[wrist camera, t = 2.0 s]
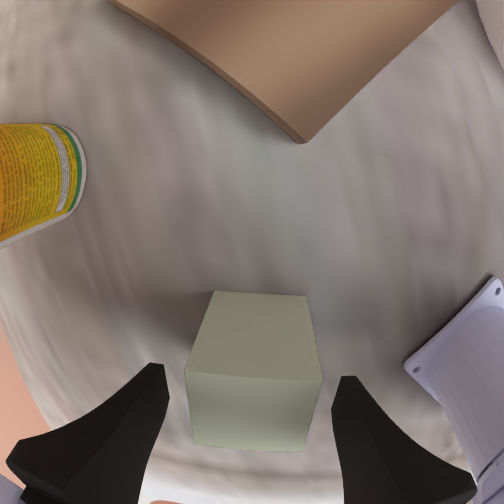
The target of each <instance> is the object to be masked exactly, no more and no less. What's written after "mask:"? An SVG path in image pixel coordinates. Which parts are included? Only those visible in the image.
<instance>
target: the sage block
mask: <svg viewBox="0 0 504 504" xmlns="http://www.w3.org/2000/svg"><path fill="white" fill-rule="evenodd" d="M184 375H185V383H186V390H187V397H188V404H189V410H190V417H191V423H192V429H193V435H194V441H195V444H199V445H206V446H213V447H222V448H231V449H242V450H256V451H280V452H302V450H303V447H304V444H305V441H306V437H307V434H308V431H309V428H310V424H311V421H312V418H313V414H314V411H315V407H316V403H317V400H318V396H319V392H320V389H321V385H322V381H323V379H322V373H321V368H320V362H319V357H318V352H317V347H316V341H315V336H314V331H313V326H312V321H311V317H310V312H309V307H308V302H307V297H306V296H297V295H278V294H261V293H245V292H231V291H217V290H214V293H213V295H212V298H211V301H210V303H209V306H208V308H207V311H206V313H205V316H204V319H203V321H202V324H201V327H200V329H199V332H198V334H197V337H196V340H195V342H194V345H193V348H192V350H191V353H190V356H189V358H188V361H187V364H186V366H185V369H184Z"/></svg>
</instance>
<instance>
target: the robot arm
mask: <svg viewBox="0 0 504 504" xmlns="http://www.w3.org/2000/svg"><path fill="white" fill-rule="evenodd" d="M496 289H497V290H496ZM404 368H405V370H406V371H407V372H408V373H409V374H410V375H411V376H412V377H413V378H414V379H415V380H416V381H417V382H418V383H419V384H420V385H421V386H422V387H423V388H424V389H425V390H426V391H427V392H428V393H429V394H430V395H431V396H432V397H433V398H434V399H435V400H437V401H438V402H439V403H440V404H441V406H442V408H443V410H444V412H445V414H446V416H447V418H448V420H449V422H450V424H451V426H452V428H453V430H454V432H455V434H456V436H457V438H458V441H459V443H460V445H461V447H462V449H463V451H464V454H465V456H466V458H467V460H468V463H469V465H470V467H471V470H472V472H473V474H474V477H475V479H476V481H477V483H478V484H477V486H476V484H475V482H474V479H473V477H472V475H471V473H469V472H467V471H464V470H462V469H460V468H457V467H455V466H453V465H451V464H449V463H447V462H445V461H443V460H441V459H440V458H438V457H436V456H435V455H433V454H431V453H430V452H429V451H427V450H426V449H424V448H423V447H421V446H420V445H419V444H417V443H416V442H415V441H414V440H412V439H411V438H410V437H409V436H408V435H407V434H405V433H404V432H403V431H402V430H401V429H400V428H399V427H398V426H397V425H396V424H395V423H394V422H393V421H392V420H391V419H390V418H389V417H388V415H387V414H386V413H385V412H384V411H383V410H382V409H381V407H380V406H379V405H378V404H377V403H376V401H375V400H374V399H373V398H372V396H371V395H370V394H369V392H368V391H367V390H366V389H365V387H364V386H363V385H362V383H361V382H360V381H359V379H358V378H357V377H356V376H341V379H340V383H339V386H338V389H337V392H336V395H335V399H334V402H333V405H332V408H331V412H332V425H333V432H334V437H335V442H336V446H337V451H338V456H339V461H340V465H341V470H342V477H343V488H344V504H466V503H467V502H468V501H469V500H471V499H472V501H473V504H504V288H503V285H502V283H501V281H500V279H499V278H497V277H495V276H494V277H492V278H491V279H490V280H489V281H488V282H487V283H486V284H485V286H484V287H483V288H482V289H481V290H480V291H479V292H478V293H477V294H476V295H475V296H474V298H473V299H472V300H471V301H470V302H469V303H468V304H467V305H466V306H465V307H464V308H463V309H462V310H461V311H460V312H459V313H458V314H457V315H456V316H455V317H454V318H453V319H452V320H451V321H450V322H449V323H448V324H447V325H446V326H445V327H444V328H443V329H442V330H440V331H439V332H438V333H437V334H436V335H435V336H434V337H433V338H432V339H431V340H429V341H428V342H427V343H426V344H425V345H424V346H423V347H422V348H420V349H419V350H418V351H417V352H416V353H414V354H413V355H412V356H411V357H410V358H408V359H407V360H406V361H405V363H404ZM414 368H415V369H414ZM169 399H170V396H169V391H168V386H167V381H166V375H165V369H164V365H163V364H157V363H151V362H150V363H149V364H147V365H146V366H145V367H144V368H143V369H142V370H141V371H140V372H139V373H138V374H137V375H136V376H134V377H133V378H132V379H131V380H130V381H129V382H128V383H127V384H126V385H124V386H123V387H122V388H121V389H120V390H119V391H117V392H116V393H115V394H114V395H113V396H111V397H110V398H109V399H107V400H106V401H105V402H104V403H102V404H101V405H99V406H98V407H97V408H95V409H94V410H92V411H91V412H89V413H87V414H86V415H84V416H82V417H81V418H79V419H77V420H75V421H73V422H71V423H69V424H67V425H65V426H63V427H60V428H58V429H55V430H53V431H50V432H48V433H45V434H41V435H38V436H35V437H30V438H26V439H22V440H19V441H18V442H17V444H16V445H15V447H14V448H13V450H12V452H11V453H10V455H9V456H8V458H7V459H6V464H7V465H8V467H9V468H10V470H11V471H12V472H13V473H14V474H15V475H16V476H17V477H18V478H19V479H20V480H21V481H22V482H23V483H24V484H25V485H26V488H25V489H24V490H23V489H22V488H20V487H19V486H17V485H16V484H14V483H13V482H12V481H10V480H8V479H7V478H6V477H4V476H3V475H1V474H0V504H138V500H139V495H140V490H141V485H142V481H143V477H144V473H145V469H146V465H147V462H148V459H149V456H150V454H151V451H152V449H153V446H154V444H155V441H156V439H157V436H158V434H159V431H160V429H161V426H162V424H163V421H164V418H165V415H166V411H167V407H168V403H169Z"/></svg>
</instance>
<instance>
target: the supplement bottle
mask: <svg viewBox="0 0 504 504" xmlns="http://www.w3.org/2000/svg"><path fill="white" fill-rule="evenodd" d="M86 174H87V166H86V158H85V154H84V151H83V148H82V146H81V144H80V142H79V140H78V138H77V137H76V136H75V134H74V133H73V132H71V131H70V130H69V129H67V128H65V127H63V126H60V125H55V124H0V249H2V248H4V247H6V246H8V245H10V244H12V243H14V242H15V241H17V240H19V239H22V238H24V237H26V236H28V235H30V234H32V233H34V232H37V231H39V230H41V229H44V228H46V227H48V226H51V225H53V224H55V223H57V222H59V221H61V220H63V219H65V218H66V217H68V216H69V215H70V214H71V213H72V212H73V211H74V210H75V208H76V207H77V205H78V204H79V202H80V199H81V197H82V194H83V190H84V187H85V182H86Z"/></svg>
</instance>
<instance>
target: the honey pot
mask: <svg viewBox="0 0 504 504" xmlns="http://www.w3.org/2000/svg"><path fill="white" fill-rule="evenodd" d="M476 4H477V8H478V12H479V16H480V19H481V21H482V23H483V26H484V29H485V31H486V34H487V37H488V39H489V42H490V44H491V46H492V47H493V49H494V52H495V54H496V56H497V58H498V60H499V62H500V64H501V66H502V68H503V70H504V0H476Z"/></svg>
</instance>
